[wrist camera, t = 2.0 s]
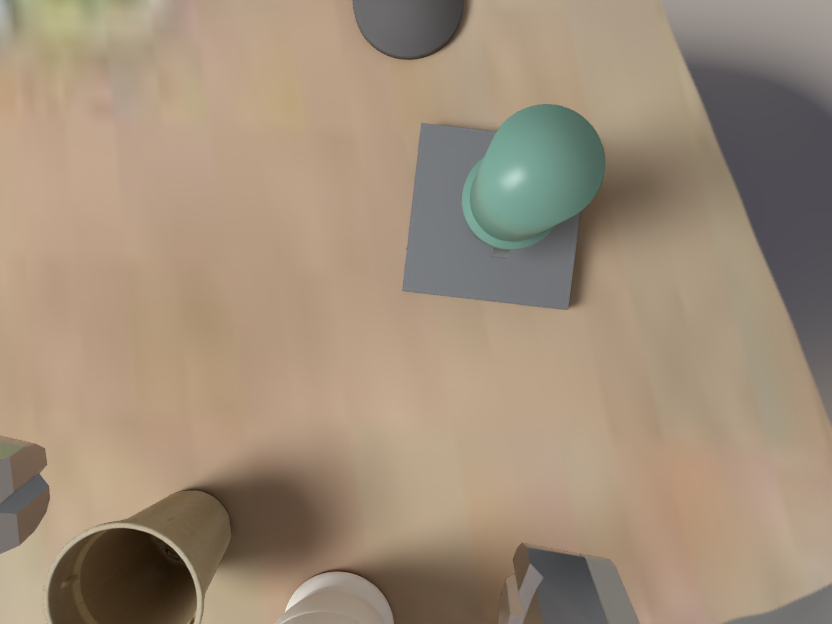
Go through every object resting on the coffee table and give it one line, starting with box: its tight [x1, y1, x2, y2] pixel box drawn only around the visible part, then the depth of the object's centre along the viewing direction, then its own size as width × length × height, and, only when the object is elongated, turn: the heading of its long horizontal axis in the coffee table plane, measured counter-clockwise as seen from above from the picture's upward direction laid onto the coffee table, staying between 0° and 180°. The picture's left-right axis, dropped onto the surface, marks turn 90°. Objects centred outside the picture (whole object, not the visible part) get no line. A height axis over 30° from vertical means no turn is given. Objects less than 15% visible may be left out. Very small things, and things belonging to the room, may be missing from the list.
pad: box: [353, 0, 463, 60], centre depth 34 cm, size 8×8×1 cm
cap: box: [461, 104, 605, 250], centre depth 24 cm, size 6×6×8 cm
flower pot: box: [43, 490, 231, 624], centre depth 32 cm, size 9×9×9 cm
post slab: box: [402, 123, 581, 310], centre depth 34 cm, size 12×12×2 cm
